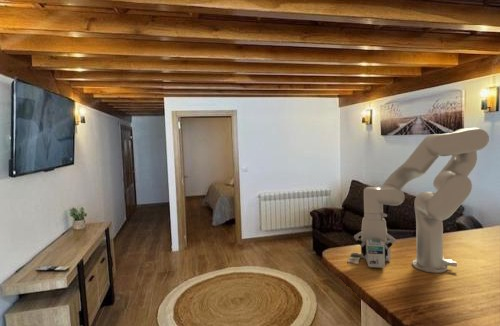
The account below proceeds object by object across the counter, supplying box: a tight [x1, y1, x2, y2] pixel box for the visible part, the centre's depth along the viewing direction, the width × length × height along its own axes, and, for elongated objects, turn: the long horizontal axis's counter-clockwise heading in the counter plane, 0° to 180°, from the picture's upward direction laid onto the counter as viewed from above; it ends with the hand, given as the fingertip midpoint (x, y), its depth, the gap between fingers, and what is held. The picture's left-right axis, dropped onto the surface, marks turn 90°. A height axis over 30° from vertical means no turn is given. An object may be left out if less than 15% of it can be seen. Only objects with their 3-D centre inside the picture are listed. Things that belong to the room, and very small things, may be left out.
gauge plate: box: [350, 237, 391, 262], centre depth 137 cm, size 16×1×9 cm, turn 63°
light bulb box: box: [364, 240, 386, 269], centre depth 130 cm, size 11×7×11 cm, turn 167°
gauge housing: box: [347, 238, 391, 265], centre depth 136 cm, size 17×12×10 cm
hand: (374, 255), depth 130 cm, fingers closed on light bulb box, 7 cm apart
